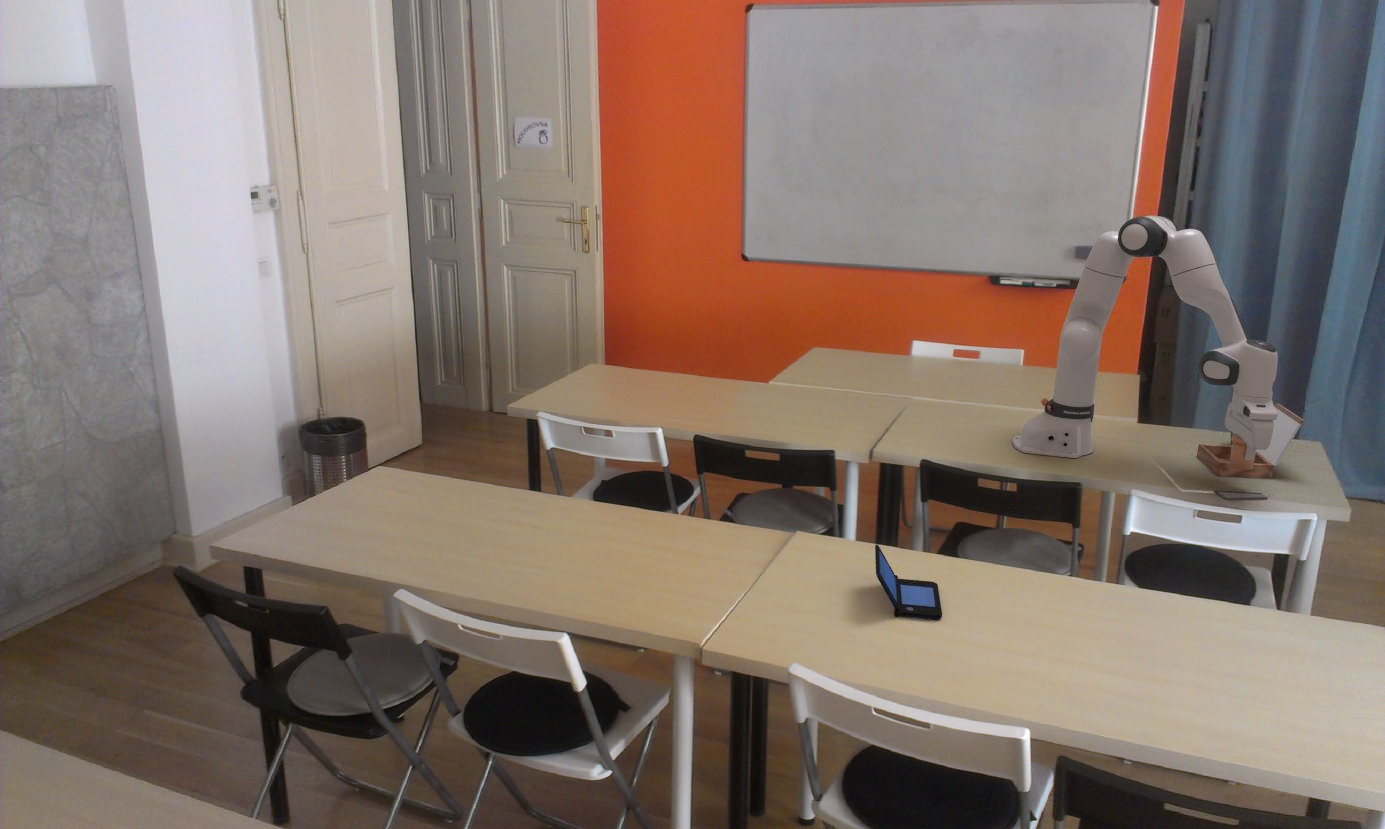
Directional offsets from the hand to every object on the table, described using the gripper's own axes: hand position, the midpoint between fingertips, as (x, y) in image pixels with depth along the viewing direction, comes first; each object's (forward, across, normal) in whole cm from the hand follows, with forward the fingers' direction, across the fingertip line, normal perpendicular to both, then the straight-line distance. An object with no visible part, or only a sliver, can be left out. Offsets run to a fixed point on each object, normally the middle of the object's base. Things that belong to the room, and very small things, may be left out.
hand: (1242, 455), depth 267 cm
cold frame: (+10, -18, +6) cm, 21 cm away
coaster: (+10, 0, 0) cm, 10 cm away
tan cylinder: (+3, 0, 0) cm, 3 cm away
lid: (-1, -18, +15) cm, 23 cm away
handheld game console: (+10, +74, -92) cm, 118 cm away
